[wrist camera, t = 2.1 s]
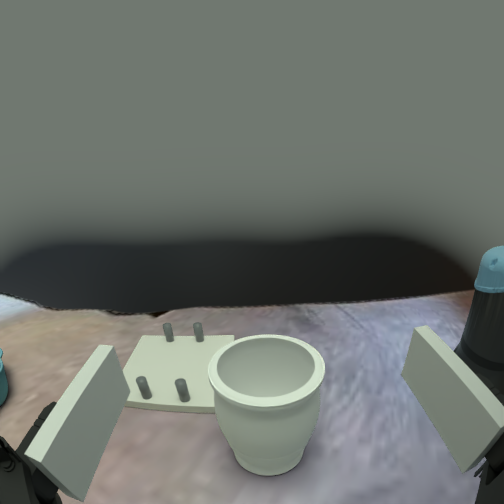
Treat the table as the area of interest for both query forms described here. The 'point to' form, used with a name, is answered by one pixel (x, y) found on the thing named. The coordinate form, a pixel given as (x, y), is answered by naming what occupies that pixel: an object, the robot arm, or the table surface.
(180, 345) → the tray
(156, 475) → the table surface
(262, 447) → the jar
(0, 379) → the casserole dish
